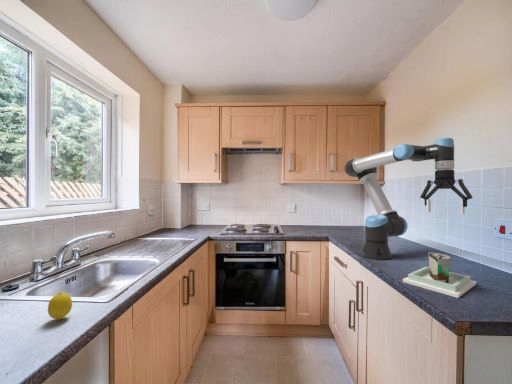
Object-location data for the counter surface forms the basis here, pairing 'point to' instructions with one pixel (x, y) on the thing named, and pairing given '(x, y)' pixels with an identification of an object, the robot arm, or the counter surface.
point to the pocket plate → (453, 288)
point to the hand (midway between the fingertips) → (444, 213)
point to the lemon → (59, 306)
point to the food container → (439, 267)
